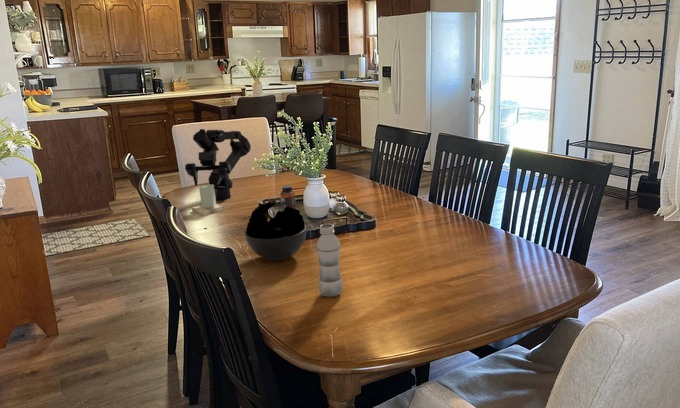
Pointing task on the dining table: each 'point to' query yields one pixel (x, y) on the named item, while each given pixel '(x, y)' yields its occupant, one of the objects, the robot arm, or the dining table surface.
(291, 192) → the supplement bottle
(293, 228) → the bowl of black rocks
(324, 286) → the plastic bottle
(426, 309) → the dining table surface
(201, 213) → the birch slab
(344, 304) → the dining table surface
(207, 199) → the sage block
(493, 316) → the dining table surface
